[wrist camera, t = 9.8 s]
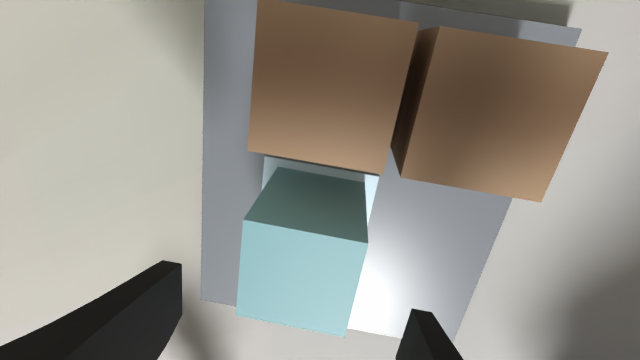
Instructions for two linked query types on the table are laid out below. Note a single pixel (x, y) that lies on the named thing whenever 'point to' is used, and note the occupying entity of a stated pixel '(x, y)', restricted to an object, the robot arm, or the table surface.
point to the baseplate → (381, 190)
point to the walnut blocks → (415, 98)
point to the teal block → (303, 251)
